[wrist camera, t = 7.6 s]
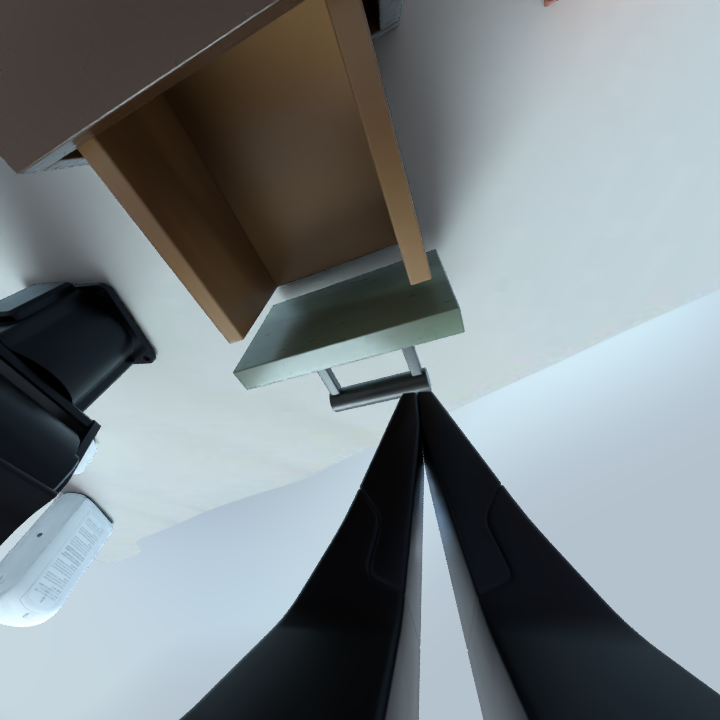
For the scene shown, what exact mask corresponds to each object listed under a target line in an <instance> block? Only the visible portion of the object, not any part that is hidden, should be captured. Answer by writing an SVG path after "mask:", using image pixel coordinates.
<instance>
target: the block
mask: <svg viewBox="0 0 720 720" xmlns="http://www.w3.org/2000/svg"><path fill="white" fill-rule="evenodd" d="M556 1H558V0H544V6H548V5H550V4H552V3H554V2H556Z"/></svg>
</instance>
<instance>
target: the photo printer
mask: <svg viewBox="0 0 720 720" xmlns="http://www.w3.org/2000/svg"><path fill="white" fill-rule="evenodd" d="M112 530H113V525H112V524H111V523H110V521H109V520H108V519H107V518H106V517H105V516H104V515H103V513H102V512H101V511H100V510H99V509H98V508H97V506H96V505H95V504H94V503H93V502H92V501H91V500H89V499H88V498H87V497H86V496H84V495H81V494H77V493H65V494H64V495H60V496H59V497H58V498H57V499H56V500H55V501H54V502H53V503H52V504H51V505H50V506H49V508H48V509H47V510H46V511H45V512H44V513H43V514H42V515H41V517H40V518H39V519H38V520H37V521H36V522H35V523H34V524H33V526H32V527H31V528H30V529H29V530H28V531H27V532H26V533H25V535H24V536H23V537H22V538H21V539H20V540H19V541H18V543H17V544H16V545H15V546H14V547H13V548H12V549H11V550H10V551H9V553H8V554H7V555H6V556H5V557H4V558H3V559H2V561H1V562H0V624H3V625H9V626H16V627H27V626H32V625H37V624H40V623H42V622H44V621H46V620H48V619H49V618H50V617H52V616H53V615H54V614H55V613H56V612H57V611H58V610H59V609H60V607H61V606H62V605H63V604H64V602H65V600H66V599H67V598H68V596H69V595H70V593H71V592H72V590H73V589H74V587H75V586H76V584H77V583H78V581H79V580H80V578H81V577H82V575H83V574H84V572H85V571H86V569H87V568H88V566H89V565H90V563H91V562H92V560H93V559H94V558H95V556H96V555H97V553H98V552H99V550H100V549H101V547H102V546H103V544H104V543H105V541H106V540H107V538H108V537H109V535H110V534H111V532H112Z"/></svg>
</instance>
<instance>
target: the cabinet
mask: <svg viewBox="0 0 720 720" xmlns="http://www.w3.org/2000/svg"><path fill="white" fill-rule="evenodd" d="M303 1H305V0H0V156H1V157H2V158H3V159H4V160H5V161H6V163H7V164H8V165H9V166H10V167H11V168H12V169H13V170H14V171H15V172H16V173H17V174H26V173H33V172H40V171H47V170H54V169H61V168H68V167H75V166H82V165H88V164H89V163H88V162H87V160H86V159H85V158H84V157H83V155H82V154H81V153H80V151H79V150H78V149H77V148H78V147H80V146H81V145H83V144H84V143H86V142H87V141H89V140H91V139H92V138H94V137H95V136H97V135H98V134H100V133H101V132H103V131H104V130H106V129H107V128H109V127H111V126H112V125H114V124H115V123H117V122H118V121H120V120H121V119H123V118H124V117H126V116H128V115H129V114H131V113H132V112H134V111H135V110H137V109H138V108H140V107H141V106H143V105H145V104H146V103H148V102H149V101H151V100H152V99H154V98H155V97H157V96H158V95H160V94H161V93H163V92H165V91H166V90H168V89H169V88H171V87H172V86H174V85H175V84H177V83H178V82H180V81H182V80H183V79H185V78H186V77H188V76H189V75H191V74H192V73H194V72H195V71H197V70H199V69H200V68H202V67H203V66H205V65H206V64H208V63H209V62H211V61H212V60H214V59H216V58H217V57H219V56H220V55H222V54H223V53H225V52H226V51H228V50H229V49H231V48H232V47H234V46H236V45H237V44H239V43H240V42H242V41H243V40H245V39H246V38H248V37H249V36H251V35H253V34H254V33H256V32H257V31H259V30H260V29H262V28H263V27H265V26H266V25H268V24H270V23H271V22H273V21H274V20H276V19H277V18H279V17H280V16H282V15H283V14H285V13H286V12H288V11H290V10H291V9H293V8H294V7H296V6H297V5H299V4H300V3H302V2H303ZM362 3H363V6H364V10H365V14H366V18H367V22H368V26H369V30H370V34H371V38H372V40H374V39H376V38H378V37H379V36H381V35H383V34H385V33H386V32H388V31H390V30H392V29H393V28H395V27H397V26H398V25H399V21H400V14H401V7H402V0H362Z"/></svg>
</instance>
